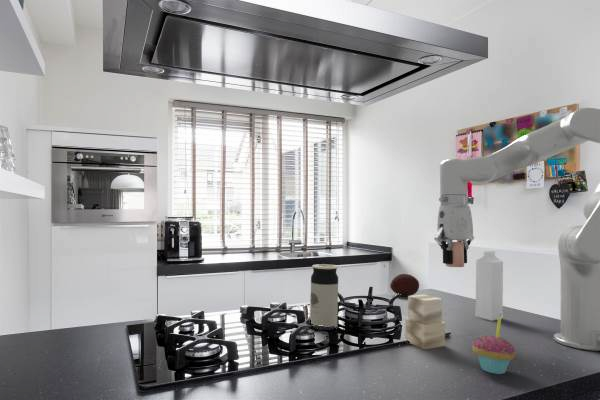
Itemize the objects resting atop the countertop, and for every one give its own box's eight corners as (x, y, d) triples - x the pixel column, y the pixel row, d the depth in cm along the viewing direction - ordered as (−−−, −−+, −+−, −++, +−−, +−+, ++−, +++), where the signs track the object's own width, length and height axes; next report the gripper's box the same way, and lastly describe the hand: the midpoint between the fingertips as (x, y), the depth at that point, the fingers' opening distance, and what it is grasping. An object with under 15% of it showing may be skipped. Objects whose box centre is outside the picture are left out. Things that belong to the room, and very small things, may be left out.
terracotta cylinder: (468, 266, 117) (467, 242, 117) (455, 267, 115) (454, 242, 115) (454, 264, 121) (454, 241, 122) (442, 265, 119) (441, 241, 120)
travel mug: (331, 323, 122) (332, 263, 123) (341, 331, 115) (342, 267, 115) (306, 324, 120) (307, 264, 121) (314, 332, 112) (316, 267, 113)
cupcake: (489, 360, 93) (490, 308, 94) (524, 374, 86) (525, 317, 86) (463, 366, 89) (464, 311, 90) (498, 380, 82) (498, 321, 82)
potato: (422, 298, 163) (422, 275, 163) (392, 298, 163) (393, 275, 163) (415, 294, 172) (415, 272, 172) (387, 293, 171) (387, 272, 172)
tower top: (441, 322, 104) (441, 298, 104) (424, 324, 101) (424, 300, 102) (424, 316, 109) (425, 294, 110) (407, 318, 107) (408, 296, 107)
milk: (475, 316, 135) (475, 250, 136) (486, 314, 138) (486, 250, 139) (492, 321, 130) (492, 252, 131) (503, 318, 133) (503, 251, 134)
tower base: (444, 346, 104) (445, 322, 104) (423, 349, 100) (424, 325, 101) (425, 338, 110) (425, 316, 110) (405, 341, 107) (405, 318, 107)
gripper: (441, 200, 112) (443, 266, 111) (484, 201, 119) (486, 263, 118) (422, 201, 119) (423, 263, 118) (464, 202, 126) (465, 260, 125)
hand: (455, 262), depth 118 cm, fingers closed on terracotta cylinder, 5 cm apart
